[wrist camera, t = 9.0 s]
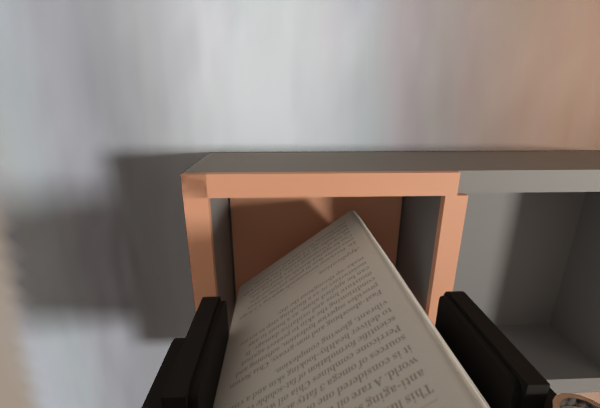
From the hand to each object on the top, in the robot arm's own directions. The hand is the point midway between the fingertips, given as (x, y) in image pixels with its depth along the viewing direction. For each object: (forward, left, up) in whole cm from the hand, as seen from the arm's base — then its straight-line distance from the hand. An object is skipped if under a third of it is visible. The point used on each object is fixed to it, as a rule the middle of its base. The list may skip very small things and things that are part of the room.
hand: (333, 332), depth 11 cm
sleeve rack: (-4, 0, -6) cm, 7 cm away
